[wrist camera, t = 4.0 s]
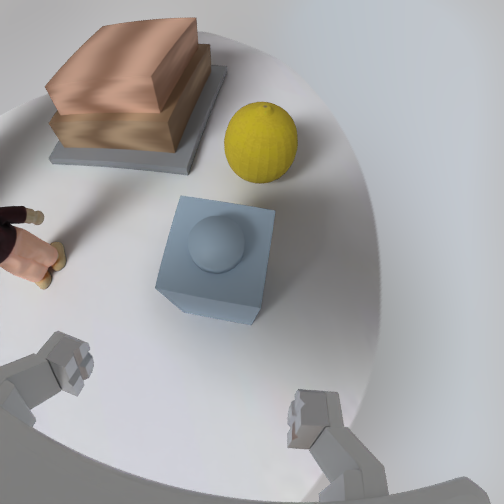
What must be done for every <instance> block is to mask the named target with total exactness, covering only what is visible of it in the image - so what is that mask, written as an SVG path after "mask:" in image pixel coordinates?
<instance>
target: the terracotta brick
mask: <svg viewBox="0 0 504 504" xmlns="http://www.w3.org/2000/svg"><path fill="white" fill-rule="evenodd" d="M210 73H211V55H210V44H198V36H197V21H196V18H168V19H153V20H143V21H134V22H126V23H119V24H113V25H107V26H103V27H101V28H100V29H99V30H98V31H97V32H96V33H95V34H94V35H93V36H91V37H90V38H89V39H88V40H87V41H86V42H85V43H84V44H83V45H82V46H81V47H80V48H79V49H78V50H77V51H76V52H75V53H74V54H73V55H72V56H71V57H70V58H69V59H68V61H67V62H66V63H65V64H64V65H63V66H62V67H61V68H60V69H59V70H58V72H57V73H56V74H55V75H54V76H53V77H52V79H51V80H50V81H49V82H48V83H47V85H46V86H45V88H46V90H47V91H48V94H49V96H50V97H51V99H52V101H53V103H54V105H55V106H56V108H57V112H56V113H55V115H54V116H53V117H52V119H51V120H50V122H49V125H50V126H51V128H52V129H53V131H54V133H55V134H56V136H57V137H58V139H59V140H60V142H61V143H62V145H63V146H64V148H108V149H127V150H142V151H155V152H167V153H175V152H176V150H177V147H178V145H179V142H180V140H181V137H182V135H183V133H184V130H185V128H186V126H187V123H188V121H189V119H190V116H191V114H192V112H193V109H194V107H195V105H196V103H197V101H198V98H199V96H200V94H201V92H202V90H203V88H204V86H205V84H206V81H207V79H208V77H209V75H210Z"/></svg>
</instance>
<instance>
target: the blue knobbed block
mask: <svg viewBox="0 0 504 504" xmlns="http://www.w3.org/2000/svg"><path fill="white" fill-rule="evenodd" d="M274 218H275V210H269V209H263V208H257V207H251V206H245V205H239V204H233V203H227V202H221V201H214V200H207V199H201V198H194V197H187V196H180V199H179V202H178V206H177V209H176V212H175V216H174V219H173V222H172V226H171V229H170V233H169V236H168V240H167V243H166V247H165V251H164V255H163V258H162V262H161V266H160V270H159V274H158V278H157V282H156V286H155V288H156V289H157V290H158V291H159V292H160V293H161V294H163V295H164V296H165V297H166V298H167V299H168V300H170V301H171V302H172V303H173V304H174V305H176V306H177V307H178V308H179V309H180V310H182V311H183V312H185V313H190V314H195V315H200V316H205V317H210V318H215V319H221V320H226V321H232V322H237V323H243V324H249V325H252V323H253V321H254V319H255V318H256V316H257V314H258V312H259V310H260V309H261V303H262V297H263V291H264V284H265V278H266V271H267V265H268V258H269V252H270V245H271V238H272V232H273V225H274Z"/></svg>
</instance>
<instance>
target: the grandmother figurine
mask: <svg viewBox="0 0 504 504" xmlns="http://www.w3.org/2000/svg"><path fill="white" fill-rule="evenodd" d="M43 221H44V214H43V213H42V212H41V211H34V210H33V209H29V208H26V207H24V206H9V207H0V267H2V268H3V269H5V270H6V271H8V272H10V273H12V274H13V275H15V276H18V277H21V278H24V279H26V280H29V281H32V282H35V283H36V284H37V285H38V286H39V287H40V288H41V289H46V288H47V287H48V286H49V285H50V283H51V275H50V273H49V271H48V268H49V267H50V266H52V268H53V269H54V270H55V271H59V270H61V269H62V268H63V267H64V266H65V263H66V258H65V253H64V247H63V245H62V244H61V243H60V242H53V243H51V244H48V243H47V242H45V241H43V240H41V239H39V238H38V237H36V236H35V235H33V234H31V233H30V232H28V231H26V230H24V229H22V228H18V227H15V226H12V225H11V224H15V223H16V224H20V223H29V224H30V223H33V224H35V225H40V224H42V222H43Z"/></svg>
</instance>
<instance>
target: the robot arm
mask: <svg viewBox="0 0 504 504" xmlns="http://www.w3.org/2000/svg"><path fill="white" fill-rule="evenodd" d="M89 350H90V347H89V344H88V343H87V342H84V341H82V340H79V339H77V338H75V337H72V336H70V335H67V334H65V333H62V332H60V331H57V332H55V333H54V334H53V335H52V336H51V337H50V338H49V340H48V341H47V342H46V343H45V344H44V346H43V347H42V348H41V349H40V350H39V352H38V353H37V354H31V355H29V356H26V357H24V358H21V359H18V360H16V361H13V362H11V363H8V364H6V365H3V366H1V367H0V504H490V500H489V497H488V495H487V493H486V492H485V491H484V490H483V489H482V488H481V487H479V486H478V485H477V484H476V483H474V482H473V481H472V480H470V479H469V478H467V477H459V478H455V479H452V480H449V481H446V482H442V483H439V484H435V485H432V486H428V487H424V488H420V489H416V490H412V491H407V492H402V493H397V494H392V495H389V493H388V487H387V481H386V475H385V470H384V466H383V465H382V464H381V463H380V462H379V461H378V460H377V459H376V457H375V456H374V455H373V454H372V453H371V452H370V451H369V450H368V449H367V448H366V447H365V446H364V445H363V443H362V442H361V441H360V440H359V439H358V438H357V437H356V436H355V435H354V434H353V433H352V432H351V430H350V429H349V428H348V427H344V424H343V417H342V411H341V405H340V399H339V394H338V392H328V391H317V390H303V389H298V390H297V391H296V393H295V400H294V401H292V402H291V405H290V407H289V411H288V425H289V426H290V430H289V431H288V433H287V448H296V449H310V450H309V451H310V453H311V454H312V456H313V457H314V459H315V460H316V462H317V463H318V465H319V466H320V468H321V469H322V471H323V472H324V474H325V475H326V477H327V478H328V480H329V481H330V483H331V484H330V485H329V486H327V487H326V488H325V489H324V490H323V491H321V492H320V493H319V502H272V501H258V500H248V499H239V498H231V497H224V496H218V495H212V494H206V493H201V492H196V491H192V490H187V489H183V488H178V487H174V486H170V485H167V484H163V483H159V482H156V481H152V480H149V479H146V478H143V477H140V476H137V475H134V474H131V473H128V472H125V471H122V470H120V469H117V468H114V467H112V466H109V465H107V464H104V463H102V462H99V461H97V460H95V459H92V458H90V457H88V456H86V455H83V454H81V453H79V452H77V451H75V450H73V449H71V448H69V447H67V446H65V445H63V444H61V443H59V442H57V441H55V440H54V439H52V438H50V437H48V436H46V435H45V434H43V433H41V432H39V431H38V430H36V429H34V428H33V425H34V424H35V422H36V418H35V416H34V415H33V414H32V412H31V411H30V410H31V409H32V408H34V407H36V406H37V405H39V404H41V403H42V402H44V401H45V400H47V399H49V398H50V397H52V396H54V395H55V394H57V393H59V392H60V391H61V390H63V391H65V392H68V393H70V394H72V395H75V396H77V397H78V395H79V393H80V392H81V390H82V388H83V387H84V380H85V379H87V378H89V377H90V375H91V373H92V371H93V367H94V361H93V357H92V356H91V354H90V353H89Z"/></svg>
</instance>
